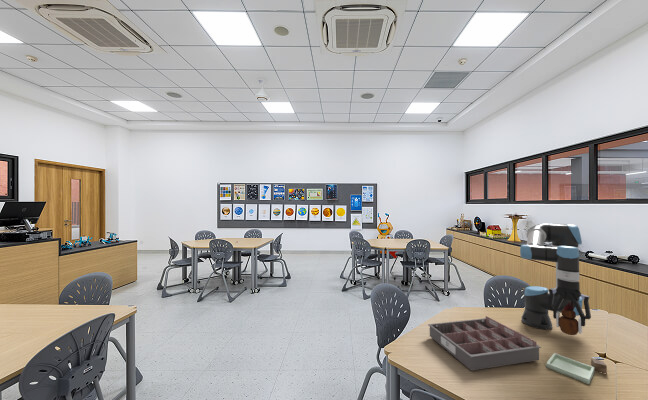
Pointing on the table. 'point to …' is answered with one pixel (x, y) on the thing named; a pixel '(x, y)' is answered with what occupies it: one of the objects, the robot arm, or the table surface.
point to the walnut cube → (599, 365)
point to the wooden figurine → (568, 320)
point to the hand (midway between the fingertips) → (568, 329)
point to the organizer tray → (484, 343)
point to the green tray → (571, 368)
